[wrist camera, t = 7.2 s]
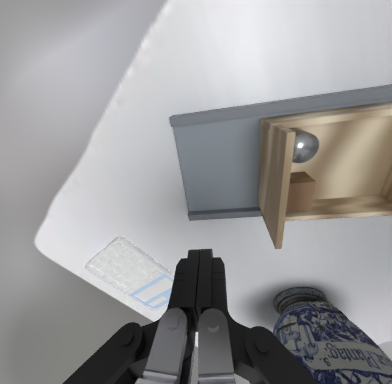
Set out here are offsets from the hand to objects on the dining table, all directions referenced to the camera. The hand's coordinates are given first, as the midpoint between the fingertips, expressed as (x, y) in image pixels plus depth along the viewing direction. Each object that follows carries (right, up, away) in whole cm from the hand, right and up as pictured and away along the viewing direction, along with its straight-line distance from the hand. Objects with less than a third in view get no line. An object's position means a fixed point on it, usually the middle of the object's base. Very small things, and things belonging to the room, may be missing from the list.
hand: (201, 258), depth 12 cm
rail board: (+11, +9, +13) cm, 19 cm away
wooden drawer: (+16, +8, +11) cm, 21 cm away
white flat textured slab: (-13, -14, +28) cm, 34 cm away
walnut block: (+12, +5, +12) cm, 18 cm away
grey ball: (+11, +10, +9) cm, 18 cm away
